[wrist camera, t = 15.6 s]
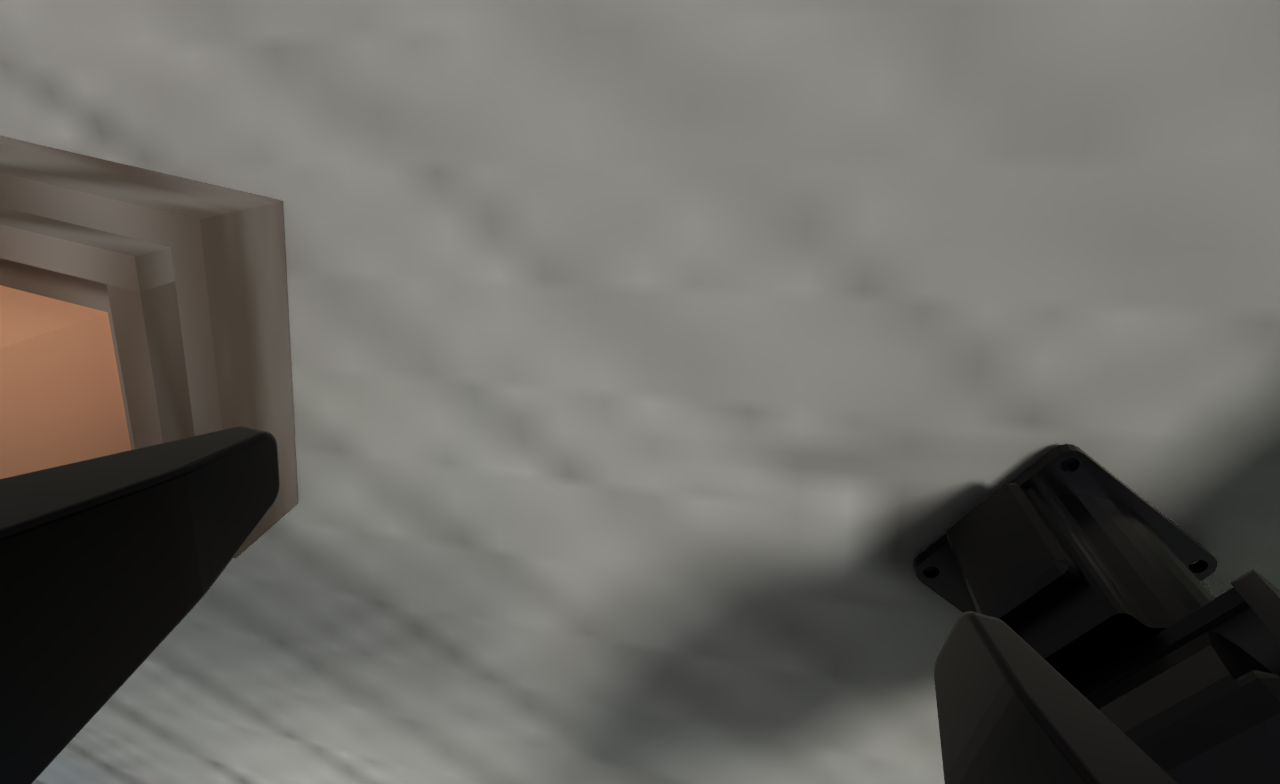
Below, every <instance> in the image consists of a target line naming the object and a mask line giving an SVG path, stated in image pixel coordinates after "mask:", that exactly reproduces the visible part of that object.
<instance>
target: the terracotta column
mask: <svg viewBox="0 0 1280 784" xmlns="http://www.w3.org/2000/svg"><path fill="white" fill-rule="evenodd" d="M129 450H131V444H130V439H129V433H128V427H127V421H126V416H125V410H124V404H123V398H122V392H121V387H120V381H119V375H118V369H117V363H116V358H115V352H114V346H113V340H112V335H111V329H110V323H109V317H108V312H104V311H100V310H96V309H92V308H88V307H84V306H81V305H77V304H73V303H69V302H65V301H61V300H57V299H53V298H49V297H45V296H41V295H37V294H33V293H29V292H25V291H21V290H17V289H13V288H9V287H5V286H1V285H0V479H3V478H7V477H12V476H16V475H21V474H25V473H30V472H34V471H39V470H43V469H48V468H52V467H57V466H61V465H66V464H70V463H75V462H79V461H84V460H88V459H93V458H97V457H102V456H107V455H111V454H116V453H120V452H125V451H129Z"/></svg>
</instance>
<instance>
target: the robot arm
mask: <svg viewBox="0 0 1280 784" xmlns="http://www.w3.org/2000/svg"><path fill="white" fill-rule="evenodd" d="M1067 458H1074V460H1073V461H1072V463H1071V464H1069V465H1066V466H1061V463H1062V462H1063V461H1064V460H1065V459H1067ZM279 488H280V477H279V462H278V446H277V441H276V438H275V437H274V435H272V434H271V433H270V432H267V431H263V430H259V429H255V428H251V427H247V426H237V427H233V428H228V429H224V430H219V431H215V432H210V433H206V434H201V435H197V436H192V437H188V438H183V439H179V440H174V441H170V442H165V443H161V444H156V445H152V446H147V447H143V448H138V449H134V450H129V451H125V452H120V453H116V454H111V455H107V456H102V457H97V458H93V459H88V460H84V461H79V462H75V463H70V464H66V465H61V466H57V467H52V468H48V469H43V470H39V471H34V472H30V473H25V474H21V475H16V476H12V477H7V478H3V479H0V784H32V783H33V781H34V780H35V779H36V778H37V777H38V776H39V775H40V774H41V773H42V772H43V771H44V769H45V768H46V767H47V766H48V765H49V764H50V763H51V762H52V761H53V760H54V759H55V758H56V756H57V755H58V754H59V753H60V752H61V751H62V750H63V749H64V748H65V747H66V746H67V744H68V743H69V742H70V741H71V740H72V739H73V738H74V737H75V736H76V735H77V734H78V732H79V731H80V730H81V729H82V728H83V727H84V726H85V725H86V724H87V723H88V722H89V721H90V719H91V718H92V717H93V716H94V715H95V714H96V713H97V712H98V711H99V710H100V709H101V707H102V706H103V705H104V704H105V703H106V702H107V701H108V700H109V699H110V698H111V697H112V695H113V694H114V693H115V692H116V691H117V690H118V689H119V688H120V687H121V686H122V685H123V684H124V682H125V681H126V680H127V679H128V678H129V677H130V676H131V675H132V674H133V673H134V672H135V670H136V669H137V668H138V667H139V666H140V665H141V664H142V663H143V662H144V661H145V660H146V658H147V657H148V656H149V655H150V654H151V653H152V652H153V651H154V650H155V649H156V648H157V647H158V645H159V644H160V643H161V642H162V641H163V640H164V639H165V638H166V637H167V636H168V635H169V633H170V632H171V631H172V630H173V629H174V628H175V627H176V626H177V625H178V624H179V623H180V621H181V620H182V619H183V618H184V617H185V616H186V615H187V614H188V613H189V612H190V611H191V609H192V608H193V607H194V606H195V605H196V604H197V603H198V601H199V600H200V599H201V598H202V597H203V596H204V594H205V593H206V592H207V591H208V589H209V588H210V587H211V586H212V584H213V583H214V582H215V581H216V579H217V578H218V577H219V575H220V574H221V573H222V571H223V570H224V569H225V567H226V566H227V565H228V563H229V562H230V561H231V559H232V558H233V557H234V555H235V554H236V553H237V551H238V550H239V549H240V548H241V546H242V545H243V544H244V542H245V541H246V540H247V538H248V537H249V536H250V534H251V533H252V532H253V530H254V529H255V528H256V526H257V525H258V524H259V522H260V521H261V520H262V518H263V517H264V516H265V514H266V513H267V512H268V510H269V509H270V508H271V506H272V505H273V503H274V502H275V500H276V498H277V496H278V493H279ZM1196 560H1199V561H1198V562H1197V563H1195V564H1193V565H1190V564H1191V563H1192V562H1193V561H1196ZM929 566H934V567H935V569H933V570H931V571H926V570H924V569H925V568H927V567H929ZM913 567H914V570H915V573H916V576H917V578H918V579H919V580H920V581H921V582H922V583H924V584H925V585H926V586H928V587H929V588H931V589H932V590H933V591H935V592H936V593H937V594H939V595H940V596H941V597H943V598H944V599H945V600H947V601H948V602H950V603H951V604H952V605H954V606H955V607H956V608H958V609H959V610H960V611H962V612H963V614H962V615H960V617H959V618H958V619H957V621H956V623H955V625H954V627H953V629H952V631H951V632H950V634H949V636H948V638H947V640H946V642H945V644H944V646H943V648H942V650H941V651H940V653H939V655H938V658H937V660H936V664H935V672H934V678H935V689H936V699H937V709H938V719H939V729H940V740H941V750H942V760H943V770H944V780H945V784H1280V590H1278V589H1277V588H1276V587H1275V586H1273V585H1272V584H1271V583H1270V582H1268V581H1267V580H1266V579H1265V578H1263V577H1262V576H1261V575H1260V574H1258V573H1257V572H1256V571H1255V570H1251V571H1249V572H1248V573H1246V574H1245V575H1243V576H1241V577H1240V578H1238V579H1236V580H1235V581H1233V582H1231V584H1232V585H1233V588H1232V589H1230V590H1228V591H1227V592H1225V593H1224V594H1222V595H1220V596H1219V597H1217V598H1214V596H1213V595H1212V594H1211V593H1210V592H1209V591H1208V590H1207V589H1206V588H1205V586H1204V585H1203V584H1202V583H1201V582H1200V581H1201V580H1203V579H1205V578H1206V577H1208V576H1209V575H1211V574H1212V573H1213V572H1214V571H1215V569H1216V567H1217V561H1216V559H1215V558H1214V557H1213V556H1212V555H1211V554H1210V553H1209V552H1208V551H1207V550H1206V549H1205V548H1204V547H1203V546H1202V545H1200V544H1199V543H1198V542H1197V541H1195V540H1194V539H1193V538H1191V537H1190V536H1189V535H1188V534H1186V533H1185V532H1184V531H1183V530H1181V529H1180V528H1179V527H1178V526H1176V525H1175V524H1174V523H1173V522H1171V521H1170V520H1169V519H1168V518H1166V517H1165V516H1164V515H1163V514H1161V513H1160V512H1159V511H1158V510H1156V509H1155V508H1154V507H1153V506H1151V505H1150V504H1149V503H1148V502H1146V501H1145V500H1144V499H1142V498H1141V497H1140V496H1139V495H1137V494H1136V493H1135V492H1134V491H1132V490H1131V489H1130V488H1129V487H1127V486H1126V485H1125V484H1124V483H1122V482H1121V481H1120V480H1119V479H1117V478H1116V477H1115V476H1114V475H1112V474H1111V473H1110V472H1109V471H1107V470H1106V469H1105V468H1104V467H1102V466H1101V465H1100V464H1099V463H1097V462H1096V461H1095V460H1094V459H1092V458H1091V457H1090V456H1088V455H1087V454H1086V453H1085V452H1083V451H1082V450H1081V449H1080V448H1078V447H1076V446H1074V445H1069V444H1065V445H1060V446H1058V447H1056V448H1054V449H1052V450H1051V451H1050V452H1049V453H1047V454H1046V455H1045V456H1044V457H1042V458H1041V459H1040V460H1039V461H1037V462H1036V463H1035V464H1033V465H1032V466H1031V467H1030V468H1028V469H1027V470H1026V471H1025V472H1023V473H1022V474H1021V475H1020V476H1018V477H1017V478H1016V479H1015V480H1013V481H1012V482H1011V483H1010V484H1006V485H1004V486H1003V487H1002V488H1001V489H999V490H998V491H997V492H996V493H994V494H993V495H992V496H991V497H989V498H988V499H987V500H986V501H984V502H983V503H982V504H981V505H979V506H978V507H977V508H975V509H974V510H973V511H972V512H970V513H969V514H968V515H967V516H965V517H964V518H963V519H962V520H960V521H959V522H958V523H957V524H955V525H954V526H953V527H952V528H950V529H949V530H948V532H947V534H945V535H944V536H943V537H942V538H940V539H939V540H938V541H937V542H935V543H934V544H933V545H931V546H930V547H929V548H928V549H926V550H925V551H924V552H923V553H921V554H920V555H919V556H918V557H917V558H916V559H915V560H914V563H913Z"/></svg>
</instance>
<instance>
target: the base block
mask: <svg viewBox="0 0 1280 784" xmlns="http://www.w3.org/2000/svg"><path fill="white" fill-rule="evenodd" d="M0 285H1V286H5V287H9V288H13V289H17V290H21V291H25V292H29V293H33V294H37V295H41V296H45V297H49V298H53V299H57V300H61V301H65V302H69V303H73V304H77V305H81V306H84V307H88V308H92V309H96V310H100V311H104V312H108V317H109V323H110V329H111V335H112V340H113V346H114V352H115V358H116V363H117V369H118V375H119V381H120V387H121V392H122V398H123V404H124V410H125V416H126V421H127V427H128V433H129V439H130V444H131V450H134V449H138V448H143V447H147V446H152V445H156V444H161V443H165V442H170V441H174V440H179V439H183V438H188V437H192V436H197V435H201V434H206V433H210V432H215V431H219V430H224V429H228V428H233V427H237V426H247V427H251V428H255V429H259V430H263V431H267V432H270V433H271V434H272V435H274V437H275V438H276V441H277V446H278V462H279V477H280V488H279V493H278V496H277V498H276V500H275V502H274V503H273V505H272V506H271V508H270V509H269V510H268V512H267V513H266V514H265V516H264V517H263V518H262V520H261V521H260V522H259V524H258V525H257V526H256V528H255V529H254V530H253V532H252V533H251V534H250V536H249V537H248V538H247V540H246V541H245V542H244V544H243V545H242V546H241V548H240V549H239V550H238V551H237V553H236V554H235V555H234V557H233V558H237V557H238V556H239V555H240V554H241V553H242V552H244V551H245V550H246V549H247V548H248V547H249V546H250V545H251V544H253V543H254V542H255V541H256V540H257V539H258V538H259V537H261V536H262V535H263V534H264V533H265V532H266V531H267V530H268V529H270V528H271V527H272V526H273V525H274V524H275V523H276V522H277V521H279V520H280V519H281V518H282V517H283V516H284V515H285V514H287V513H288V512H289V511H290V510H291V509H292V508H293V507H294V506H296V505H297V504H298V490H297V470H296V451H295V431H294V411H293V392H292V372H291V352H290V333H289V313H288V293H287V274H286V254H285V235H284V215H283V201H280V200H276V199H272V198H267V197H263V196H259V195H254V194H250V193H246V192H241V191H237V190H233V189H228V188H224V187H220V186H215V185H211V184H207V183H202V182H198V181H193V180H189V179H185V178H180V177H176V176H172V175H167V174H163V173H159V172H154V171H150V170H146V169H141V168H137V167H133V166H128V165H124V164H119V163H115V162H111V161H106V160H102V159H98V158H93V157H89V156H85V155H80V154H76V153H72V152H67V151H63V150H59V149H54V148H50V147H45V146H41V145H37V144H32V143H28V142H24V141H19V140H15V139H11V138H6V137H2V136H0Z"/></svg>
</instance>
